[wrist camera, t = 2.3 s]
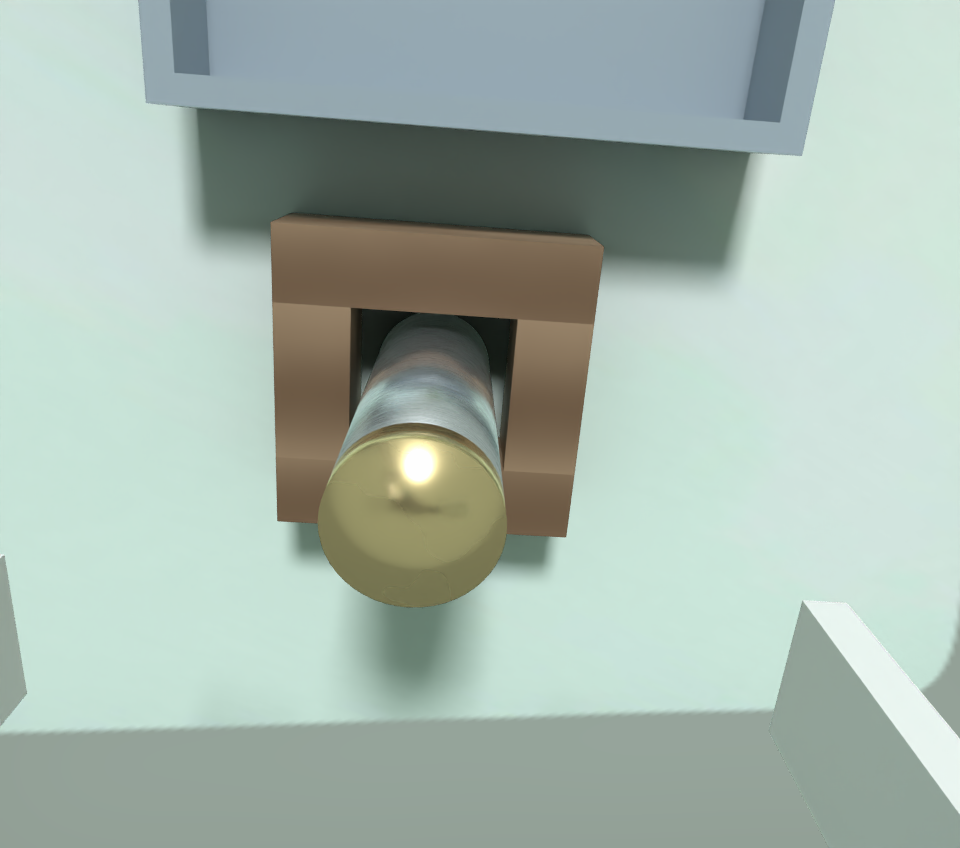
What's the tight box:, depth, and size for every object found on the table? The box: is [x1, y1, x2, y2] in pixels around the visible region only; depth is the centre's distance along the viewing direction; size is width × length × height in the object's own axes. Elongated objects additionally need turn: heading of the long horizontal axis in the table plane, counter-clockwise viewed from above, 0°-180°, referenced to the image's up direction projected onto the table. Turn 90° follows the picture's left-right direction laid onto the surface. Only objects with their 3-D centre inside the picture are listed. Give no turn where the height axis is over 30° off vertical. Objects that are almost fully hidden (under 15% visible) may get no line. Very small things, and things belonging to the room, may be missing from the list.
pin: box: [318, 313, 507, 607], centre depth 22 cm, size 4×4×12 cm
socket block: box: [271, 213, 604, 537], centre depth 26 cm, size 10×10×3 cm
